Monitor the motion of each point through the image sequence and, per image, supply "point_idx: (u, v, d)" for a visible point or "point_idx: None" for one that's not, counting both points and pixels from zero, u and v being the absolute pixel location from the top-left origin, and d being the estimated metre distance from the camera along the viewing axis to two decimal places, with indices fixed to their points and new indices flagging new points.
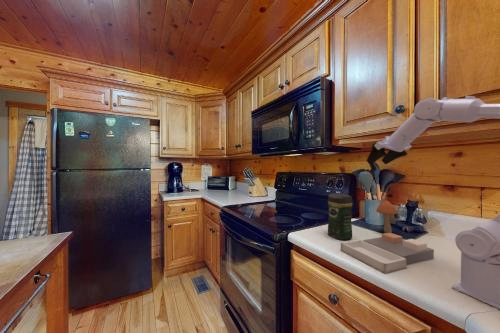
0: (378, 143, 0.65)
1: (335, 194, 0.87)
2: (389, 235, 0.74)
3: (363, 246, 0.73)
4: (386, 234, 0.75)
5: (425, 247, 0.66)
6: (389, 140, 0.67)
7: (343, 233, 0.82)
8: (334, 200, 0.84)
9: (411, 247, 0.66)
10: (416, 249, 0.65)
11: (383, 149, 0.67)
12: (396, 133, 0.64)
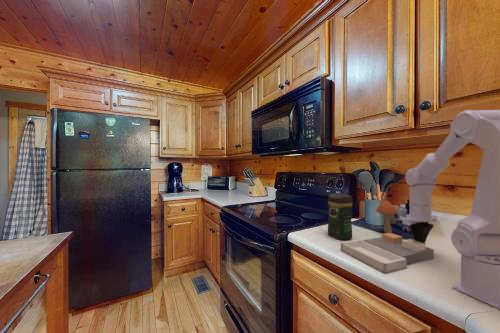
0: (404, 219, 0.66)
1: (335, 194, 0.87)
2: (389, 235, 0.74)
3: (363, 246, 0.73)
4: (386, 234, 0.75)
5: (424, 247, 0.66)
6: (411, 215, 0.68)
7: (343, 233, 0.82)
8: (334, 200, 0.84)
9: (410, 247, 0.66)
10: (415, 249, 0.65)
11: (420, 223, 0.67)
12: (411, 206, 0.68)
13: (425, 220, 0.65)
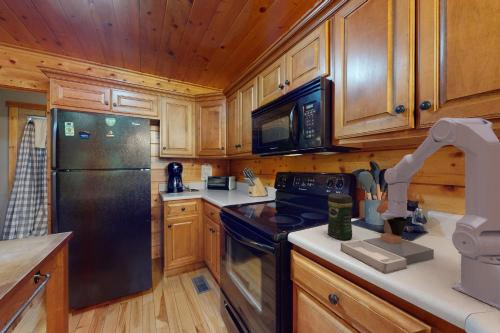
0: (382, 215, 0.73)
1: (335, 194, 0.87)
2: (388, 235, 0.74)
3: (363, 246, 0.73)
4: (385, 234, 0.75)
5: None
6: (389, 210, 0.75)
7: (343, 233, 0.82)
8: (334, 200, 0.84)
9: None
10: None
11: (397, 218, 0.73)
12: (389, 202, 0.75)
13: (401, 215, 0.72)
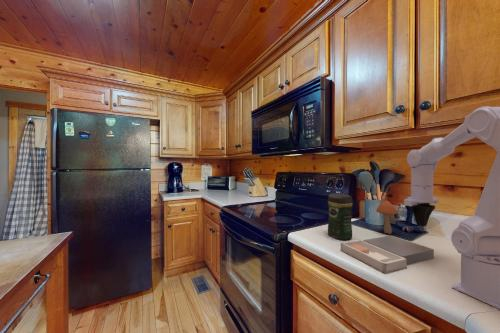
0: (406, 200, 0.66)
1: (335, 194, 0.87)
2: None
3: (363, 246, 0.73)
4: None
5: None
6: (413, 196, 0.68)
7: (343, 233, 0.82)
8: (334, 200, 0.84)
9: None
10: None
11: (422, 204, 0.67)
12: (413, 187, 0.68)
13: (427, 201, 0.65)
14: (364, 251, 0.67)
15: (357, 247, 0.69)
